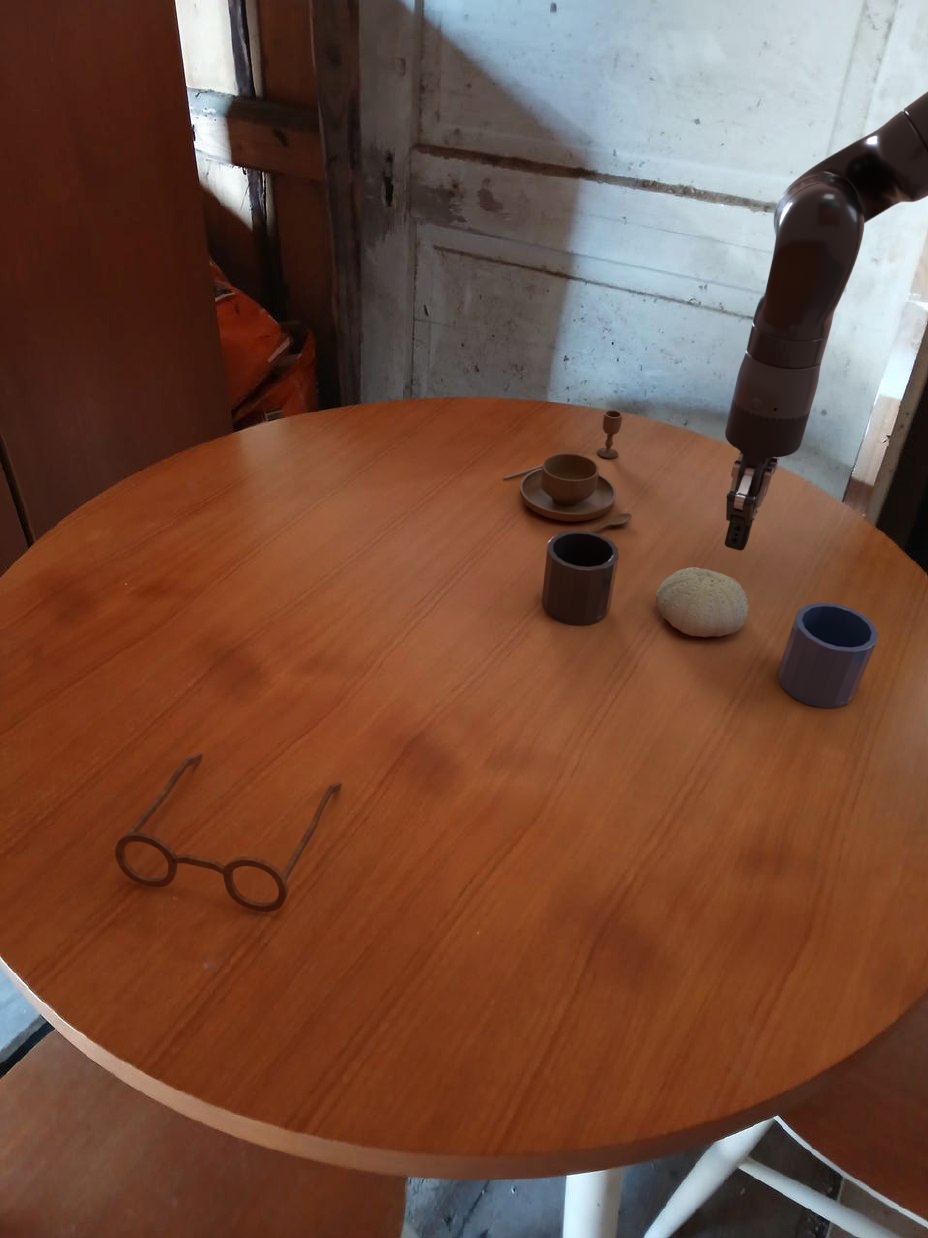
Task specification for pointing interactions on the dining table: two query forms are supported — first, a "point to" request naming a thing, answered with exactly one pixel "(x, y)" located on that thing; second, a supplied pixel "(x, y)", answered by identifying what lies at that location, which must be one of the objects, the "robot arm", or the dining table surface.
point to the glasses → (227, 870)
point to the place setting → (574, 484)
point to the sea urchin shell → (702, 602)
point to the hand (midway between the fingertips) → (735, 545)
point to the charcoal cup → (579, 577)
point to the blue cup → (826, 654)
